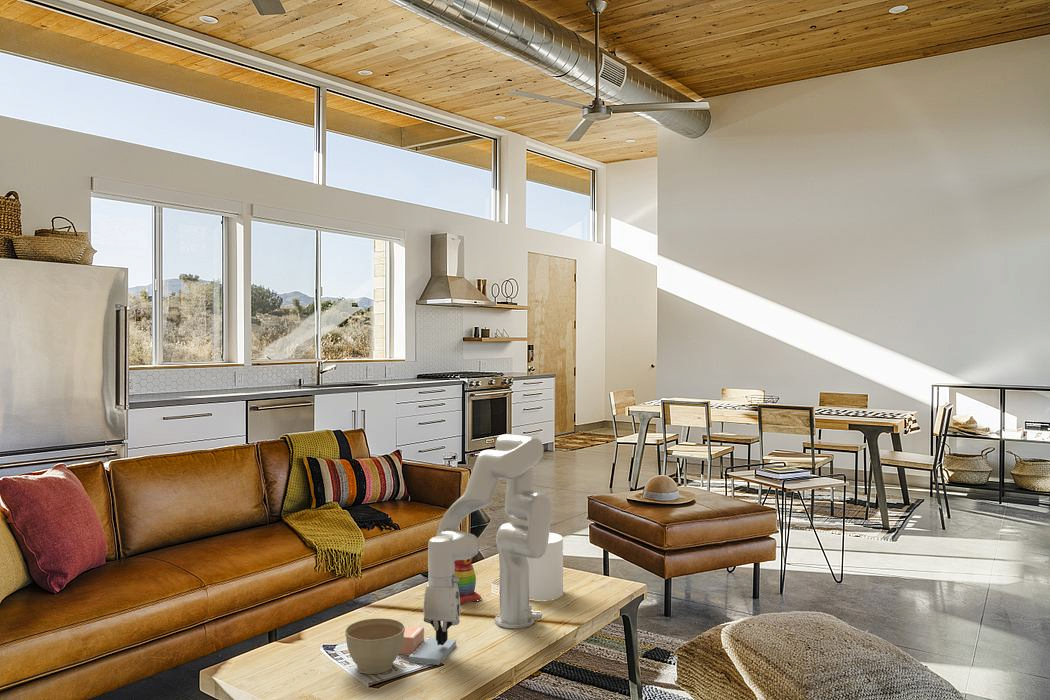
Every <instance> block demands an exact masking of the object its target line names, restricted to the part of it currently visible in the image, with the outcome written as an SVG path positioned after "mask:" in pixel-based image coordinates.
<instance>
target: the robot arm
mask: <svg viewBox="0 0 1050 700" xmlns="http://www.w3.org/2000/svg"><path fill="white" fill-rule="evenodd" d="M494 446H495V449H485V450H482V451H480V452H479V454H478V456H477V457H476V459H475V463H474V465H473V467H472V471H471V473H470V476H469V479H468V482H467V484H466V487H465V490H464V492H463V494H462V495H461V496H460V497H459V498H458V499H456V501H455V502H453V503H452V505H450V507H449V508H448V509H447V510H446V511H445V512H444V514H443V516H442V518H441V520H440V522H439V526H438V528H437V531H436V535H435V536H433V537H431V538H430V539H429V540H428V543H427V547H428V548H427V554H428V555H427V560H428V562H427V563H428V564H427V565H428V566H427V569H428V576H427V577H428V580H427V584H426V586H425V590H424V597H423V609H422V611H423V621H424V622H425V623H427V624H430V625H431V626H432V627H433V630H434V631H435V638H436V641H437V645H444V644H445V642H446V641H447V639H448V637H449V636H448V634H449V633H448V631H449V629H450V627H452V626H458V625H459V624H460V623H461V621H460V616H461V611H462V609H461V605H460V596H459V590H458V585H457V584H456V582H459V578H458V577H455V574H454V564H455V563H454V562H455V561H456V560H466V559H470V558H472V557H473V558H474V557H475V556H476V555H478V553H479V551H480V548H481V543H480V540H479V538H478V536H476V535H475V534H472V533H469V532H466V531H461V530H459V527H460V525H461V523H462V521H463V520H465V518H466V517H467V516H468V515H470V514H471V513H473V512H476V511H477V510H480V509H483V508H486V507H487V506H489V505H490V504H491V502H492V499H493V496H494V493H495V490H496V487H497V485H498V482H499V480H500V479H501V480H506V491H505V499H504V512H505V514H506V515H507V516H508V517H510V518H512V519H516V520H521V521H526V522H527V524H525V523H524V524H523V523H518V522H514V521H513V522H512V521H511V522H505V523H503V524H501V526H499V527H498V528H497V529H498V530H497V531H496V535H495V541H496V548H497V553H498V561H499V562H498V563H499V613H498V614H497V615H496V616H495V617H494V623H495V624H496V625H498V626H499V627H501V628H505V629H522V628H527V627H529V626H531V625H533V624H534V622H535V620H538V621H539V620H540V621H542V620H543V613H541V611H540V610H533V606H532V605H530V600H529V564H528V560H527V557H529V558H540V557H542V556H543V555H544V553H545V552H546V549H547V546H548V540H549V532H550V531H551V523H552V522H551V521H552V513H553V512H552V511H553V510H552V509H553V508H552V507H553V506H552V503H551V500H550V498H549V496H548V495H546V494H545V493H543V492H540V491H534V482H535V481H534V480H535V479H534V478H535V474H534V468H533V467H534V466H535V465H536V464H538V463H539V462H540V460H542V457H543V455H544V447H545V446H544V445H543V442H542V441H541V439H539V438H537V437H534V436H532V435H531V436H530V435H521V434H513V433H504V434H500V435H499V436H497V438H496V440H495V445H494ZM550 533H551V532H550Z"/></svg>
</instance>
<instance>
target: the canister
mask: <svg viewBox="0 0 1050 700" xmlns="http://www.w3.org/2000/svg"><path fill="white" fill-rule="evenodd" d="M563 550H564V538H563V536H562V535H561V534H558V533H555V532H549V540H548V546H547V549H546V552H545V553H544V555H543V556H542V557H540V558H529V557H527V560H528V564H529V599H534V600H551V601H553V600H552V599H555V600H557V599H556V598H558V597H560V596H562V597H563V595H564V552H563ZM560 598H561V597H560Z"/></svg>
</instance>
